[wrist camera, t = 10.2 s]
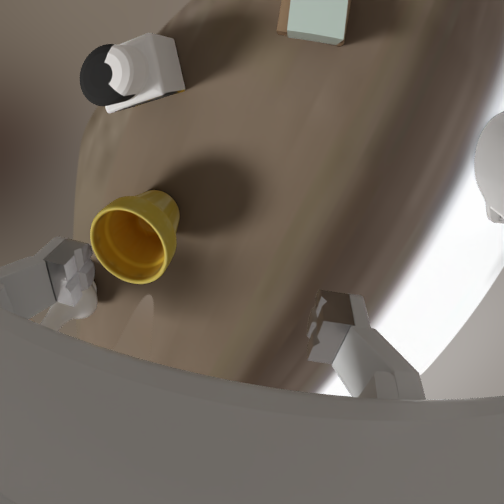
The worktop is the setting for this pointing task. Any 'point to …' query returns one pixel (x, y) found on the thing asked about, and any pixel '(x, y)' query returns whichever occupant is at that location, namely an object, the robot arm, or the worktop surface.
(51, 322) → the flower vase
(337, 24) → the cube
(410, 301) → the worktop surface
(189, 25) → the worktop surface
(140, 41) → the medicine bottle
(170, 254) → the plant pot
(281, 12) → the block
